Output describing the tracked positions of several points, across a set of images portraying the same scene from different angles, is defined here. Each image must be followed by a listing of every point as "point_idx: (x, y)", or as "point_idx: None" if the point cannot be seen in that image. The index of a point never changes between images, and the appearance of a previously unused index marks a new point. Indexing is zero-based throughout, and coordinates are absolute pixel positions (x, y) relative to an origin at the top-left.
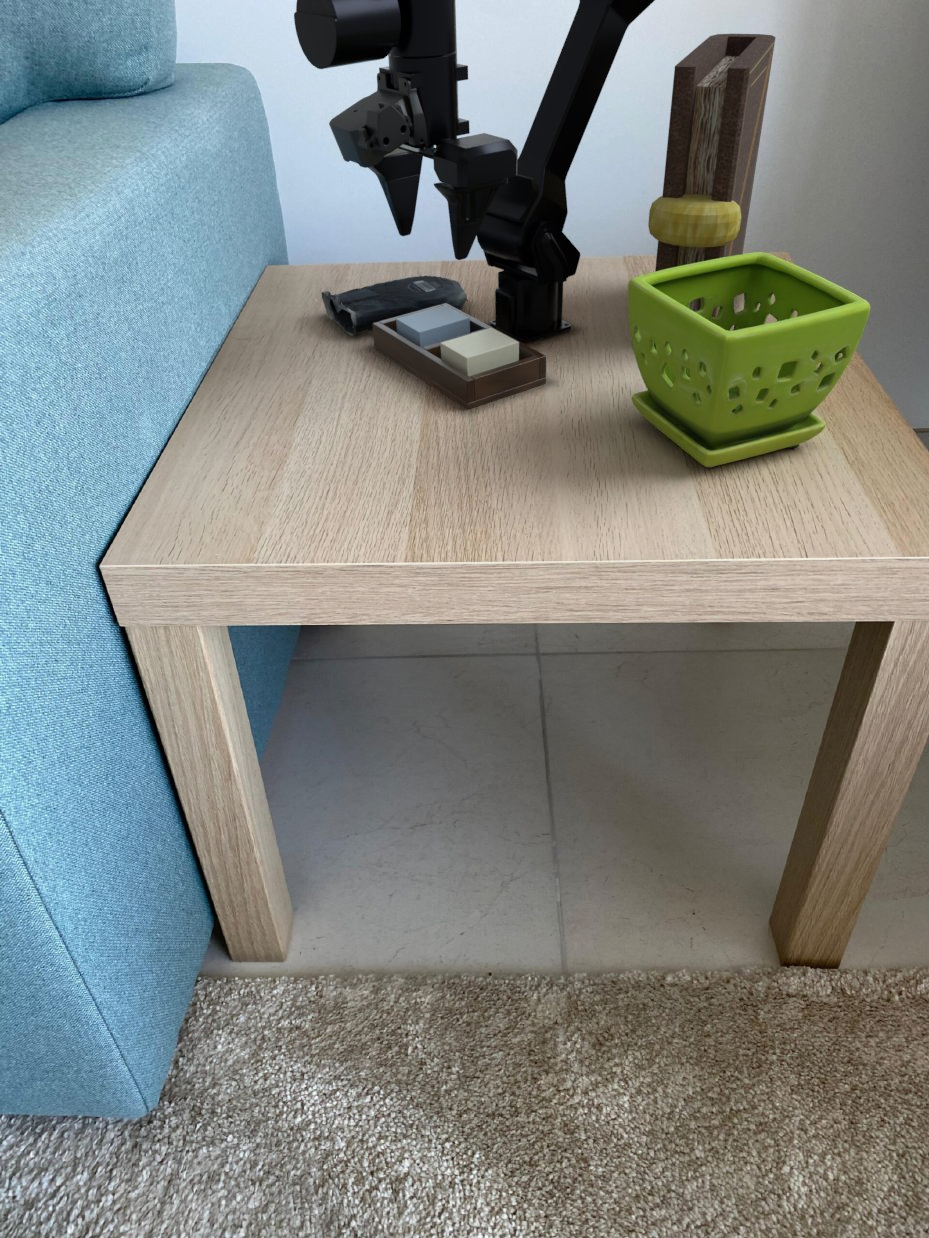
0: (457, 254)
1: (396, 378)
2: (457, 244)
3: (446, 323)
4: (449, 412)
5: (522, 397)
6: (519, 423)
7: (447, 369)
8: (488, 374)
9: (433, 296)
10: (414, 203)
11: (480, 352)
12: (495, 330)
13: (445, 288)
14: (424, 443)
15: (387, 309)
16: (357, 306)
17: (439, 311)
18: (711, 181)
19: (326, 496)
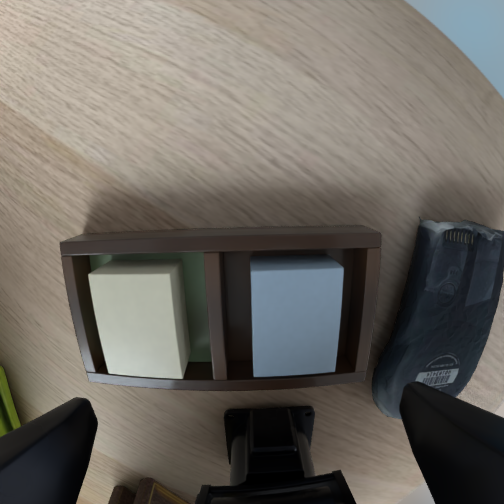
0: (64, 403)
1: (237, 196)
2: (38, 417)
3: (256, 334)
4: (88, 207)
5: None
6: (31, 268)
7: (108, 240)
8: (66, 283)
9: (400, 375)
10: (431, 485)
11: (96, 305)
12: (167, 376)
13: None
14: (43, 138)
15: (421, 293)
16: (455, 251)
17: (317, 351)
18: None
19: (34, 16)
